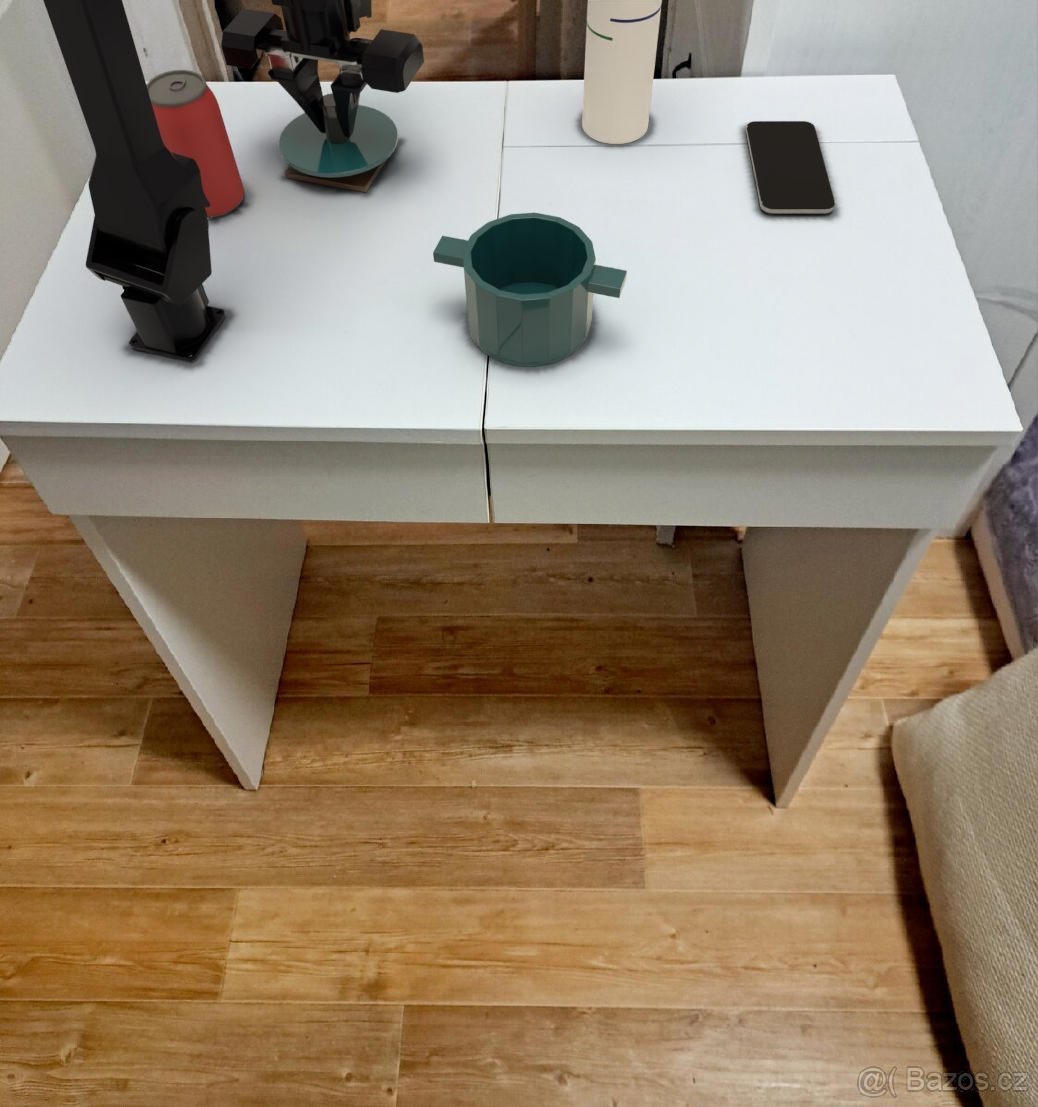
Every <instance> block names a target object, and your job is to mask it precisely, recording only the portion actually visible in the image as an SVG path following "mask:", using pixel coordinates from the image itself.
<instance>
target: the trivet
mask: <svg viewBox="0 0 1038 1107" xmlns="http://www.w3.org/2000/svg"><path fill="white" fill-rule="evenodd" d="M387 161H388V159H387V160H385V161H384V162H383V163H381V164H380V165H378V166H376V167H375V168H372V169H370V170H368V171H365V172H363V173H359V174H356V175H351V176H345V177H318V176H313V175H308V174H305V173H302V172H300V171H298V170H296V169H294V168H293V167H291V166H290V165H289V166H288V167H287V169H286V170H285V171H284V176H285V178H286V179H291V180H296V181H301V182H307V183H313V184H318V185H323V186H329V187H334V188H341V189H345V190H350V191H355V192H360V193H361V192H362V193H367V192H368V191H369V189H370V187H371V185H372V184H373V182H374V181H375V180H376V178H377V176H378V175H379V173H380V171H381V170H382V168H383V167H384V166H385V164H386V163H387Z"/></svg>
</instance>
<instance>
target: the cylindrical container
mask: <svg viewBox="0 0 1038 1107" xmlns="http://www.w3.org/2000/svg"><path fill="white" fill-rule="evenodd" d="M662 3H663V0H587V7H586V8H587V9H586V30H585V51H584V53H585V54H584V56H585V57H584V73H583V93H582V94H583V96H582V97H583V98H582V116H581V117H582V118H581V126H582V130H583V131H584V133H585V134H586V135H587V136H588V137H589V138H591V139H592V140H595V141H597V142H600V143H603V144H609V145H623V144H628V143H629V144H630V143H632V142H635V141H637V140H639V139H641V138H642V137H643V136H645V134H646V133H647V131H648V129H649V123H650V122H649V121H650V113H651V103H652V93H653V85H654V76H655V75H654V74H655V66H656V59H657V58H656V57H657V50H658V40H659V31H660V23H661V12H662Z"/></svg>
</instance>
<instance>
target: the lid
mask: <svg viewBox="0 0 1038 1107" xmlns="http://www.w3.org/2000/svg"><path fill="white" fill-rule="evenodd" d="M319 103H320V108H321V113H322V118H323V123H324V128H325V133H321V132H320V131H319V130H318V128H317V127H316V126H315V125H314V123H313V122H312V121H311V120H310V118H309V117H308V116H307V114H306V113H305V112H304V113H301V114H300V115H298V116H296V117H294V119H292V120H291V121H290V122H288V123H287V125H286V126H285V127H284V128H283V129H282V131H281V133H280V136H279V140H278V148H279V151H280V155H281V157H282V159H283V160H284V162H286V164H287V165H289V166H291V167H293V168H294V169H296V170H298V171H300V172H302V173H305V174H308V175H313V176H318V177H345V176H351V175H356V174H359V173H363V172H365V171H368V170H370V169H372V168H375V167H376V166H378V165H380V164H381V163H383V162H384V161H385V160H387V161H388V159H389V158H390V157H391V156H392V155H393V153H394V152H395V151H396V148H397V146H398V144H399V134H398V129H397V125H396V123H395V122H394V121H393V119H391V117H390V116H388V115H387V114H386V113H384V112H383V111H380V110H378V109H376V108H374V107H370V106H366V105H361V104H358V109H357V114H356V120H355V125H354V131H353V134H352V135H351V136H350V138H348V137H346V136H345V134H344V132H343V129H342V127H341V123H340V119H339V116H338V112H337V108H336V105H335V101H334V98H333V94H332V93H327V94H323V96H322V97H321V98H320V100H319Z"/></svg>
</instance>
